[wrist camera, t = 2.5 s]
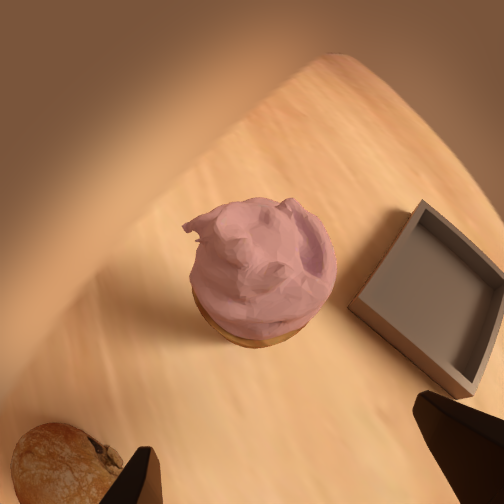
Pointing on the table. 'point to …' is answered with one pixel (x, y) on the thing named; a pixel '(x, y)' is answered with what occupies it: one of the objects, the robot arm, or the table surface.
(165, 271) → the table surface
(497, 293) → the tray
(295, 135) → the table surface
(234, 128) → the table surface
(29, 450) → the bread roll
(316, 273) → the ice cream cone
